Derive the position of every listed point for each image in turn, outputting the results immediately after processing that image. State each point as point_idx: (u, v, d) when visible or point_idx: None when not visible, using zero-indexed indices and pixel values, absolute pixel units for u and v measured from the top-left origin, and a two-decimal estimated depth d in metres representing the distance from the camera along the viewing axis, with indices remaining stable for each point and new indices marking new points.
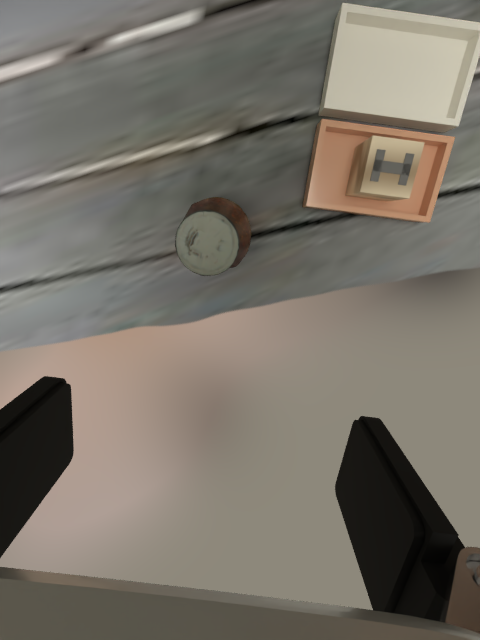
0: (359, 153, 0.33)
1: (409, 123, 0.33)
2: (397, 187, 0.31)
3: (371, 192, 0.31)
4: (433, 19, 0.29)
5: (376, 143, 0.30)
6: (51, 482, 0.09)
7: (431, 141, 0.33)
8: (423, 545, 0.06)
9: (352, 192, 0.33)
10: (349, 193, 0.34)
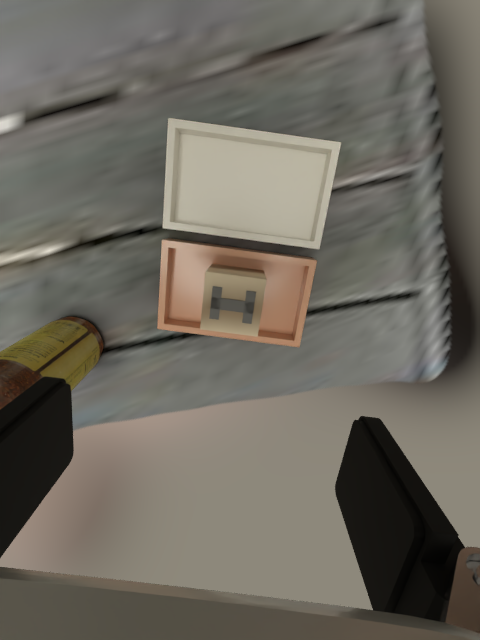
0: None
1: None
2: (242, 325, 0.26)
3: (213, 329, 0.27)
4: (276, 136, 0.25)
5: (210, 280, 0.25)
6: (51, 482, 0.09)
7: (291, 263, 0.28)
8: (423, 545, 0.06)
9: None
10: None
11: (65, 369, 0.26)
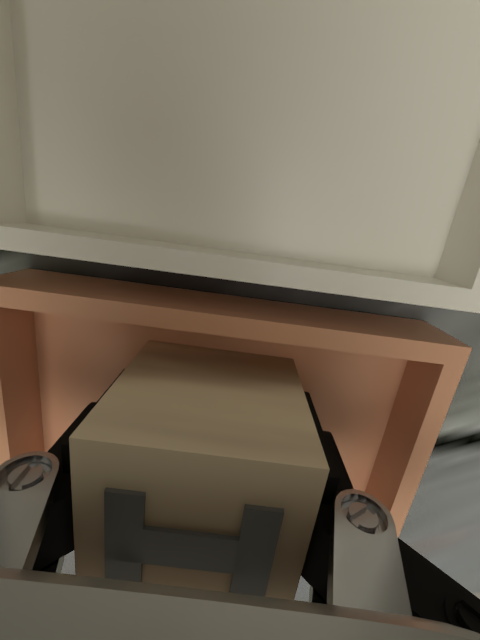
0: None
1: None
2: None
3: None
4: None
5: (96, 467, 0.06)
6: None
7: None
8: None
9: None
10: None
11: None
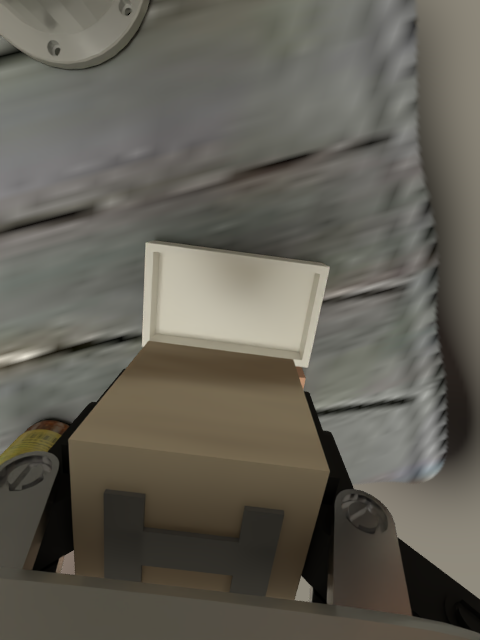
0: None
1: None
2: None
3: None
4: (260, 261, 0.23)
5: (95, 469, 0.06)
6: None
7: None
8: None
9: None
10: None
11: None
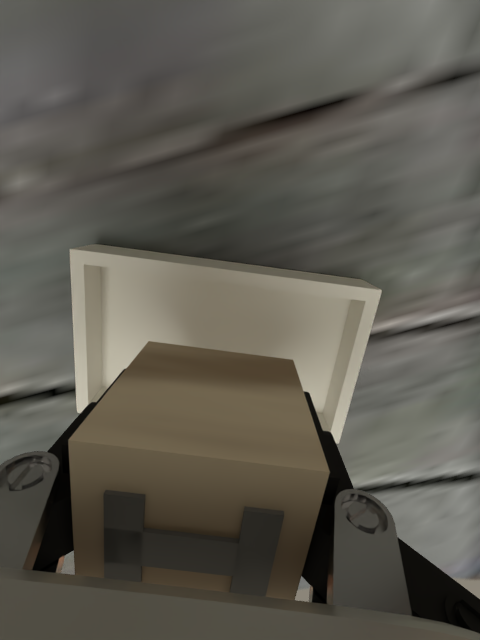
0: None
1: None
2: None
3: None
4: (266, 280, 0.14)
5: (95, 470, 0.06)
6: None
7: None
8: None
9: None
10: None
11: None
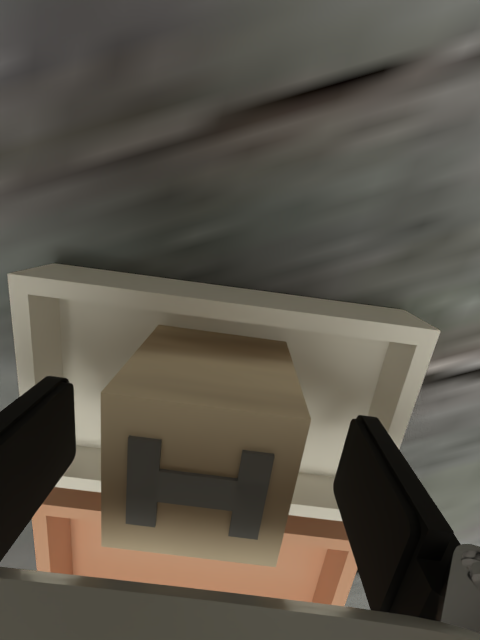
0: None
1: None
2: (230, 540, 0.09)
3: (142, 547, 0.09)
4: (279, 317, 0.10)
5: (121, 418, 0.07)
6: (54, 481, 0.09)
7: None
8: (418, 542, 0.06)
9: None
10: None
11: None
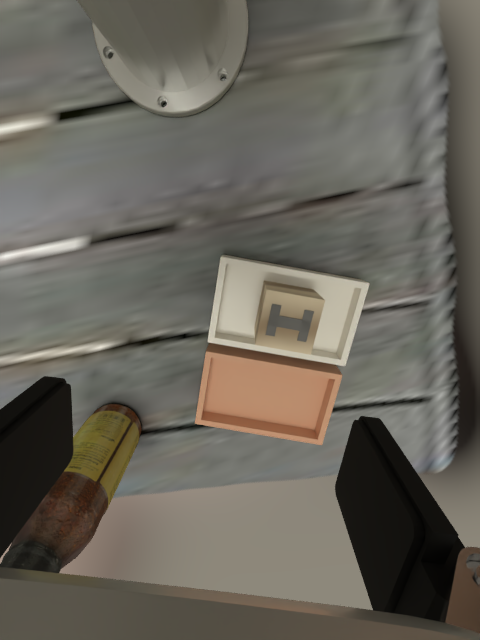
0: (262, 293, 0.29)
1: None
2: (297, 343, 0.27)
3: (268, 346, 0.27)
4: (313, 276, 0.29)
5: (270, 297, 0.26)
6: (51, 482, 0.09)
7: None
8: (423, 545, 0.06)
9: None
10: (254, 331, 0.31)
11: (117, 470, 0.29)
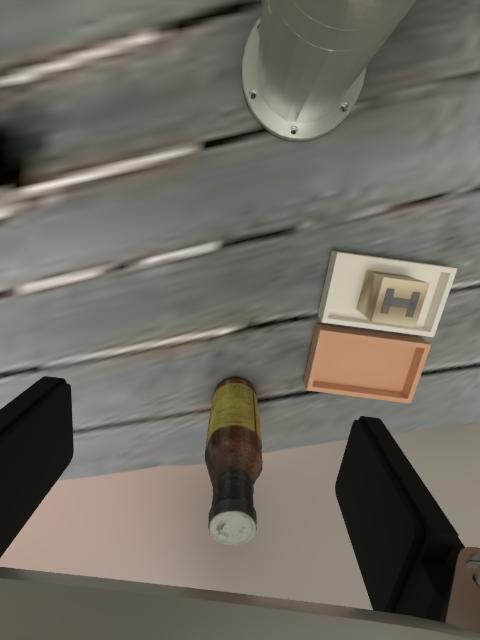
0: (370, 280, 0.36)
1: None
2: (405, 318, 0.34)
3: (381, 321, 0.34)
4: (411, 264, 0.36)
5: (386, 283, 0.33)
6: (51, 482, 0.09)
7: None
8: (423, 545, 0.06)
9: (363, 313, 0.37)
10: (360, 311, 0.38)
11: (259, 426, 0.37)
